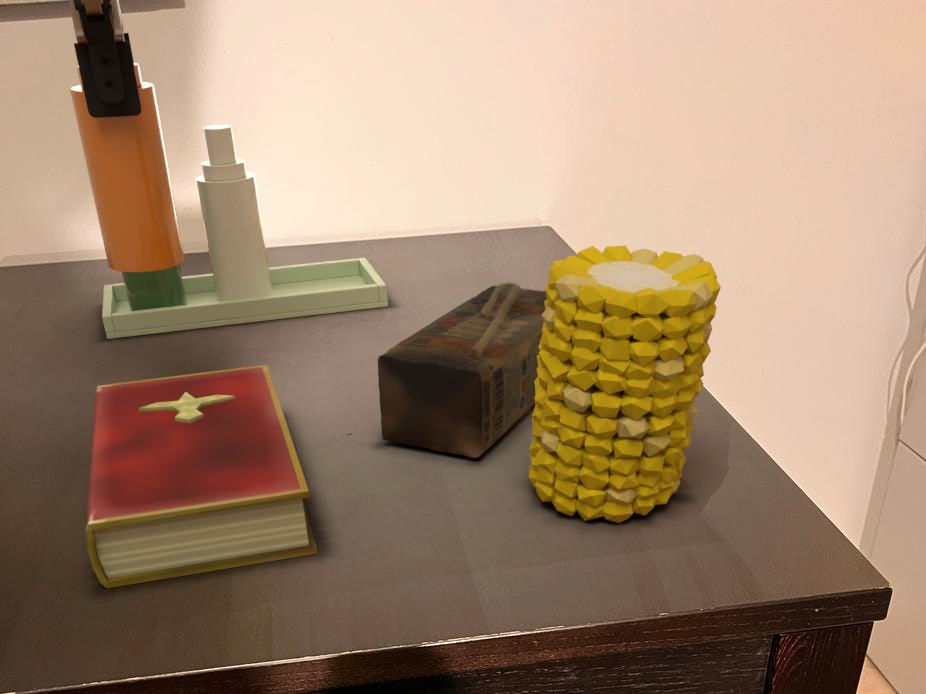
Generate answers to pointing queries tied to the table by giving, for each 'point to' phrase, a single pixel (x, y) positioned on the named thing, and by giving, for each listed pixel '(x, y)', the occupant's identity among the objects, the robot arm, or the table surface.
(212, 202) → the frosted bottle
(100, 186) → the amber bottle
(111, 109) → the robot arm
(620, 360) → the food
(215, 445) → the hardcover book
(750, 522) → the table surface
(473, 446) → the beverage carton
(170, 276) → the green bottle
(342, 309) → the tray
